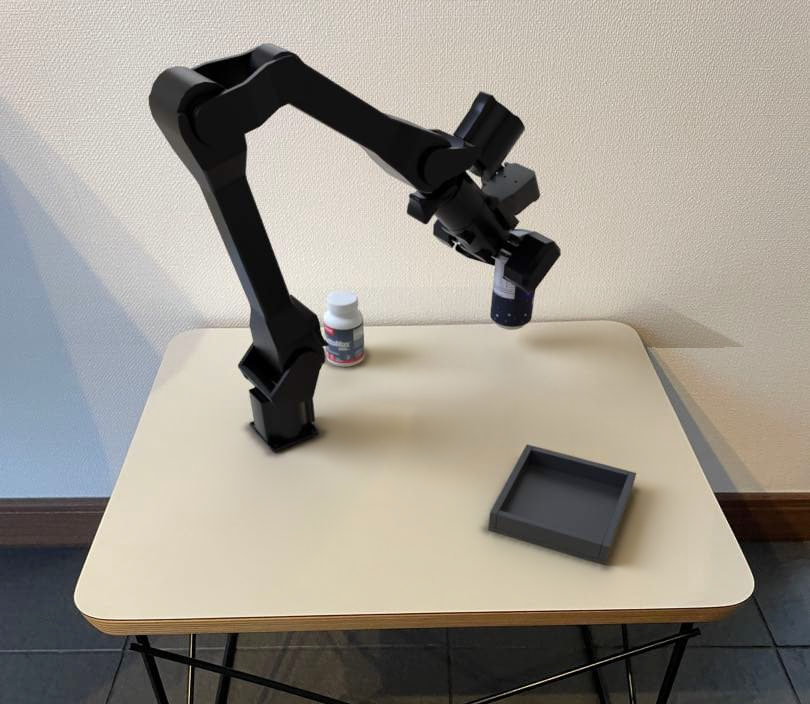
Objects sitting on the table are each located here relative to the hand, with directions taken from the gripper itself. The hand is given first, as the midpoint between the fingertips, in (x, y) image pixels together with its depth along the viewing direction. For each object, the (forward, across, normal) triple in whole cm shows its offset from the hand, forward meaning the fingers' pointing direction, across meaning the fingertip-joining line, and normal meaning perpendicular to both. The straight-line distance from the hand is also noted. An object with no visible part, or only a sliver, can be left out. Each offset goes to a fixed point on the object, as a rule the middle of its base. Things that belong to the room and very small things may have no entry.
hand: (523, 274), depth 102 cm
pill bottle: (-8, +10, +23) cm, 26 cm away
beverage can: (+4, 0, +6) cm, 7 cm away
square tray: (-6, -30, +21) cm, 37 cm away
